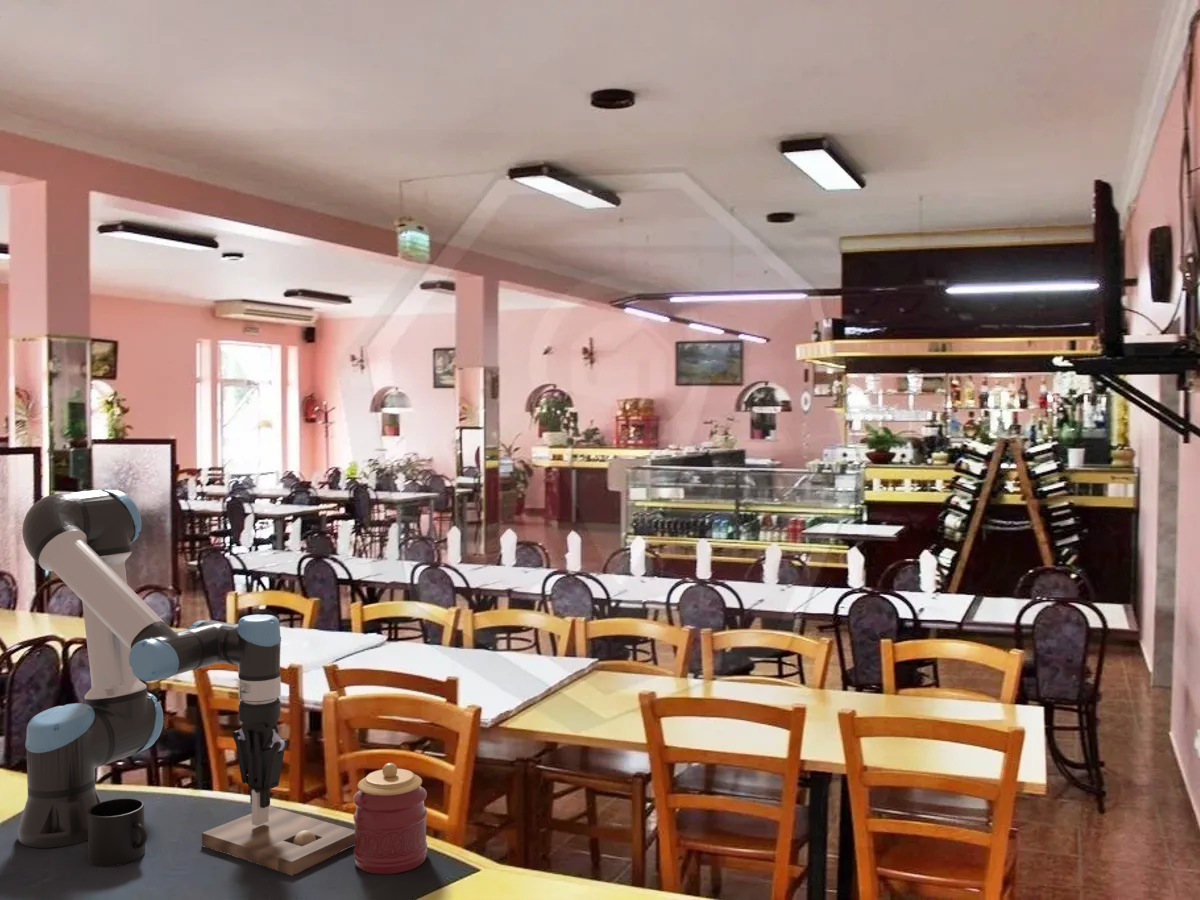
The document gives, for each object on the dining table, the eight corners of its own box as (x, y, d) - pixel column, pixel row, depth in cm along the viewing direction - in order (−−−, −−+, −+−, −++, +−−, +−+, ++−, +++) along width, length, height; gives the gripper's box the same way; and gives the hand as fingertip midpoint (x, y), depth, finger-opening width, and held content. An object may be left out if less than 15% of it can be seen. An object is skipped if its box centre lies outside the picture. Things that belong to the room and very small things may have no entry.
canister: (439, 850, 202) (438, 755, 201) (406, 880, 190) (405, 778, 189) (376, 842, 206) (375, 749, 205) (339, 870, 194) (338, 771, 193)
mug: (124, 873, 193) (123, 822, 192) (76, 861, 198) (75, 812, 197) (167, 853, 201) (166, 804, 201) (119, 842, 206) (118, 795, 206)
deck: (202, 846, 204) (201, 832, 204) (270, 818, 218) (270, 806, 218) (292, 875, 192) (291, 861, 191) (358, 844, 205) (358, 831, 205)
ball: (285, 842, 201) (296, 830, 200) (302, 834, 205) (312, 823, 203) (296, 861, 200) (307, 849, 198) (313, 853, 203) (323, 841, 201)
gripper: (220, 697, 207) (220, 821, 208) (267, 709, 200) (268, 837, 201) (252, 689, 213) (253, 809, 214) (299, 699, 206) (299, 823, 207)
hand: (260, 822), depth 207 cm, fingers closed
